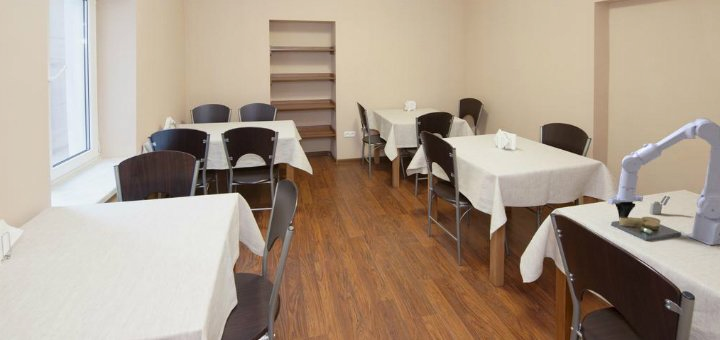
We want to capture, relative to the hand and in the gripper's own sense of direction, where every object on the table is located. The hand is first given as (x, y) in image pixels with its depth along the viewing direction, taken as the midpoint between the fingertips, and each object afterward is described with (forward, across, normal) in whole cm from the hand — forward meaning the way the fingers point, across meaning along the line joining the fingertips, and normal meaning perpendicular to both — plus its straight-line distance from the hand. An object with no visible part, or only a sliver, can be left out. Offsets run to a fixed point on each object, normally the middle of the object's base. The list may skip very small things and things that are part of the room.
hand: (622, 220), depth 175 cm
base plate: (+3, -6, +6) cm, 8 cm away
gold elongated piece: (+1, -3, +5) cm, 6 cm away
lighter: (+3, -28, -8) cm, 29 cm away
